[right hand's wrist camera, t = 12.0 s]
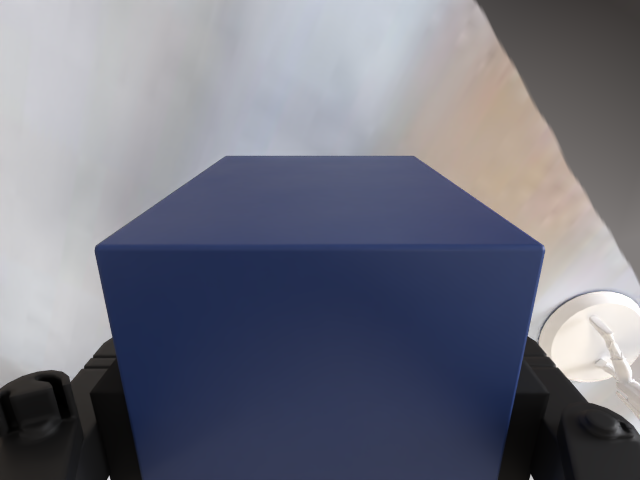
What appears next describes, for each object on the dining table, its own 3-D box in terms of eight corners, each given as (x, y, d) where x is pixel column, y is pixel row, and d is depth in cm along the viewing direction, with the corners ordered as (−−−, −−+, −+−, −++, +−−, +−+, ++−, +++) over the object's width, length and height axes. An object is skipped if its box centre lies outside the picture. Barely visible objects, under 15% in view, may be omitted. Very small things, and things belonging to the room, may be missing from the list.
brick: (399, 349, 19) (475, 595, 10) (240, 349, 19) (164, 595, 10) (415, 155, 16) (548, 246, 7) (224, 155, 16) (90, 246, 7)
